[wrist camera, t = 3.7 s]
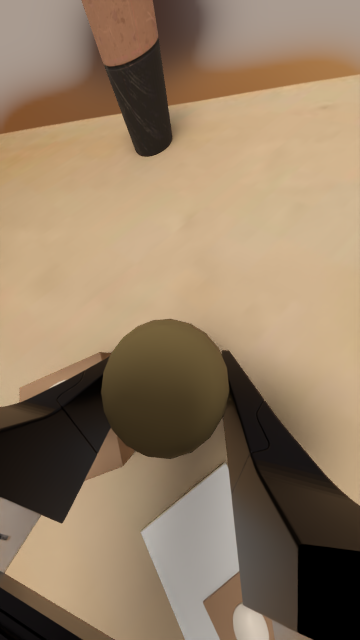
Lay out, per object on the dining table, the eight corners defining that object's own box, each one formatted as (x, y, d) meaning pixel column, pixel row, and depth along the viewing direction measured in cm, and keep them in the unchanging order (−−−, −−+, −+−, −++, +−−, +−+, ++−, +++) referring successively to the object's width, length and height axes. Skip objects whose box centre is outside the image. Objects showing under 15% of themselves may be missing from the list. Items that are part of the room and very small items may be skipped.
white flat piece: (364, 676, 9) (371, 690, 8) (246, 781, 8) (247, 799, 8) (225, 461, 13) (225, 465, 12) (141, 529, 12) (139, 535, 12)
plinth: (134, 452, 14) (122, 467, 12) (45, 486, 15) (19, 506, 13) (111, 353, 17) (99, 352, 15) (39, 385, 18) (18, 388, 16)
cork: (153, 356, 16) (56, 347, 6) (201, 329, 16) (188, 270, 6) (178, 413, 14) (98, 550, 4) (233, 383, 14) (302, 441, 4)
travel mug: (155, 161, 26) (3, -411, 7) (126, 152, 28) (-47, -287, 9) (182, 132, 26) (114, -449, 7) (151, 126, 29) (42, -327, 10)
